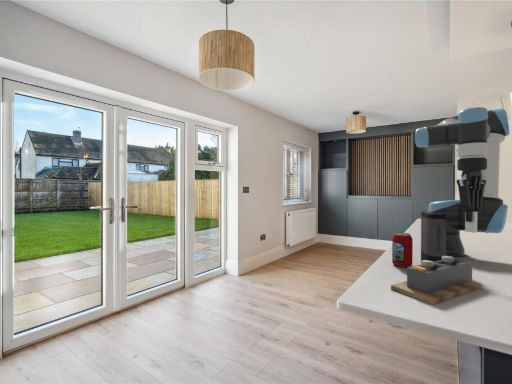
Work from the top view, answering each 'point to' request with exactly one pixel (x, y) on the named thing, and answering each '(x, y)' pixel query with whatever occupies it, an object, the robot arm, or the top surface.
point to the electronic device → (433, 235)
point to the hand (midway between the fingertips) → (471, 231)
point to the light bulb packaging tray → (439, 276)
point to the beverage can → (402, 249)
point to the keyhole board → (440, 294)
